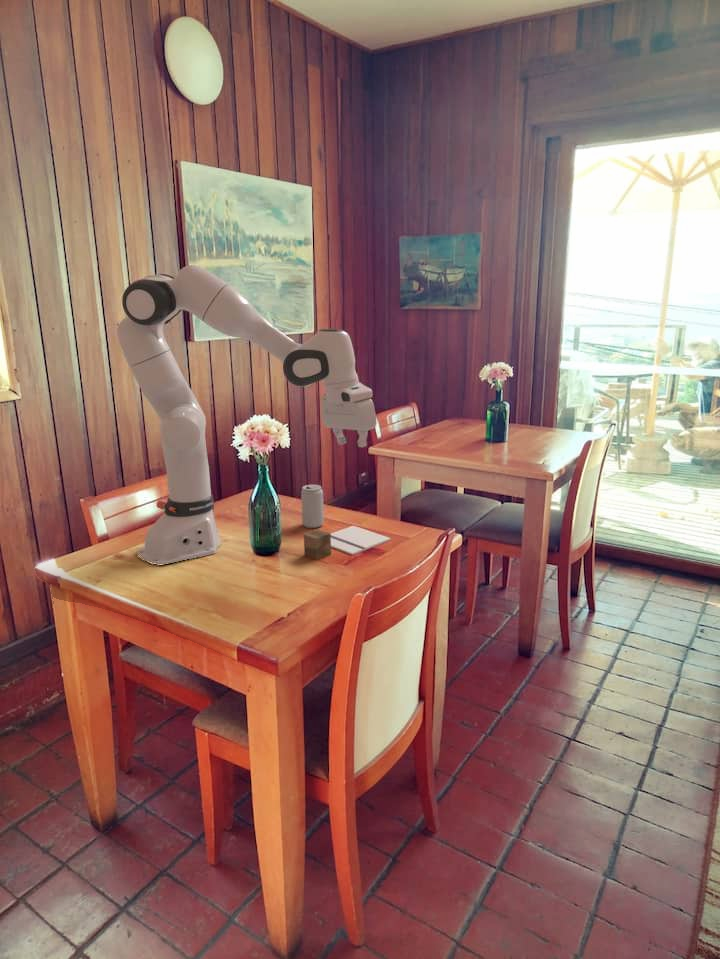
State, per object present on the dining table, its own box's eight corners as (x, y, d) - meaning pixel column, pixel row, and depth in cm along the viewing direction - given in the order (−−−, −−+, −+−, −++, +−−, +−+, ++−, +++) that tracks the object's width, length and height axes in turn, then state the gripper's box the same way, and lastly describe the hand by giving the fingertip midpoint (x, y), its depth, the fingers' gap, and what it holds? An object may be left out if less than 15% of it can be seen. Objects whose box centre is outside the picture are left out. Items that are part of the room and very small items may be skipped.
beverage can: (299, 523, 198) (297, 485, 195) (319, 520, 200) (318, 482, 197) (306, 530, 192) (305, 491, 189) (327, 526, 195) (326, 488, 192)
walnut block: (317, 560, 171) (316, 538, 170) (304, 555, 175) (303, 533, 173) (331, 554, 175) (330, 533, 173) (318, 549, 178) (317, 529, 176)
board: (352, 555, 174) (352, 552, 174) (315, 540, 184) (315, 538, 184) (390, 539, 184) (390, 537, 184) (353, 527, 194) (353, 525, 194)
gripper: (311, 394, 174) (321, 445, 177) (355, 395, 157) (364, 451, 160) (331, 389, 177) (340, 439, 180) (376, 390, 160) (385, 445, 164)
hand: (352, 445), depth 170 cm, fingers open, 8 cm apart
